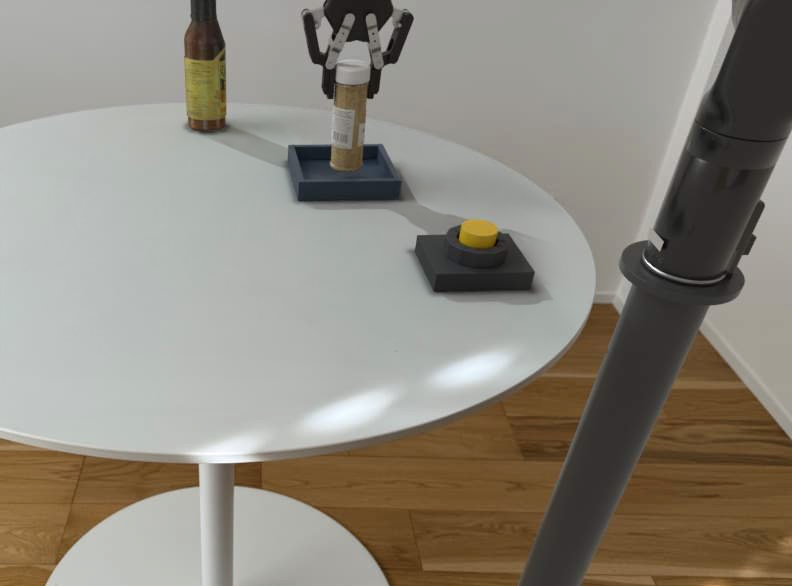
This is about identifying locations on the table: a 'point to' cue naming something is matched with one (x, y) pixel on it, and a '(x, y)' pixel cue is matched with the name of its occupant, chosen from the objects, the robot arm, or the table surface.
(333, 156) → the spice jar
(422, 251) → the button housing
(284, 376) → the table surface
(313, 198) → the tray
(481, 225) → the trigger button
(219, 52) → the sauce bottle
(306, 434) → the table surface
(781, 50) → the robot arm
